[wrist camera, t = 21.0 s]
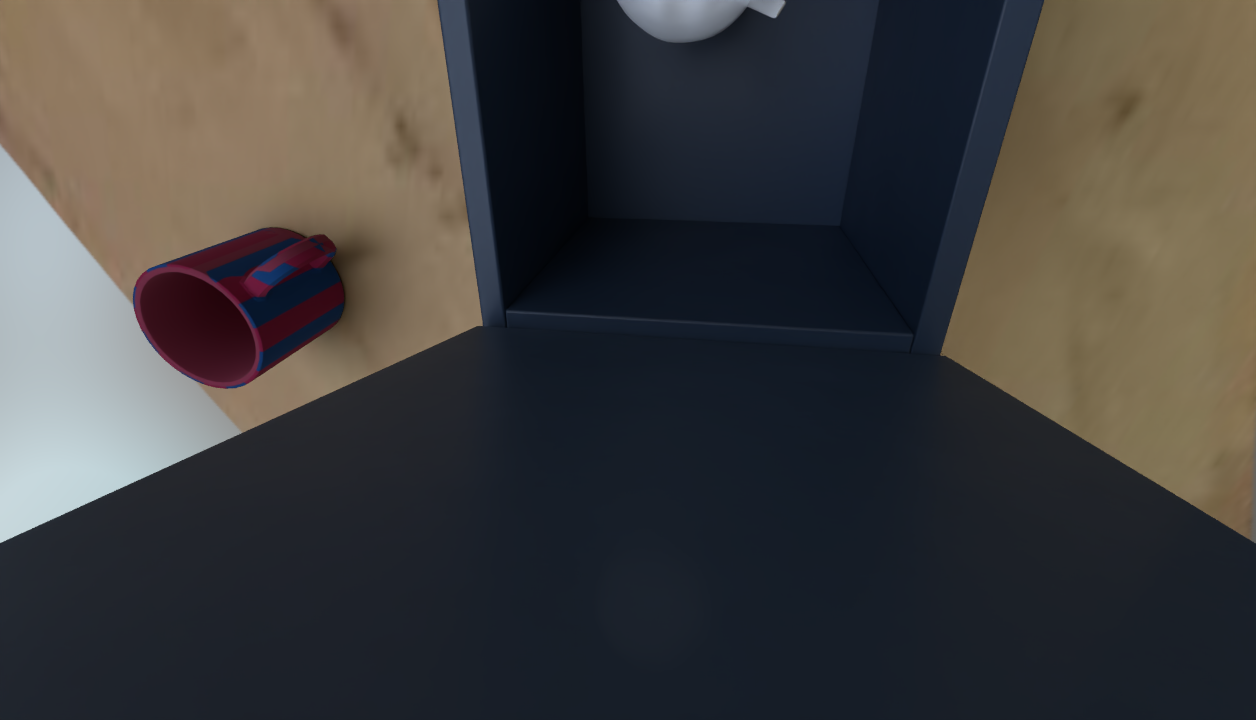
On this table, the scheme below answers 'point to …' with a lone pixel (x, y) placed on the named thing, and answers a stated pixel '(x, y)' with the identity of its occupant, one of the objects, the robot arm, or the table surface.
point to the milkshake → (692, 16)
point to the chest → (732, 166)
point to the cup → (240, 304)
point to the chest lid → (636, 554)
